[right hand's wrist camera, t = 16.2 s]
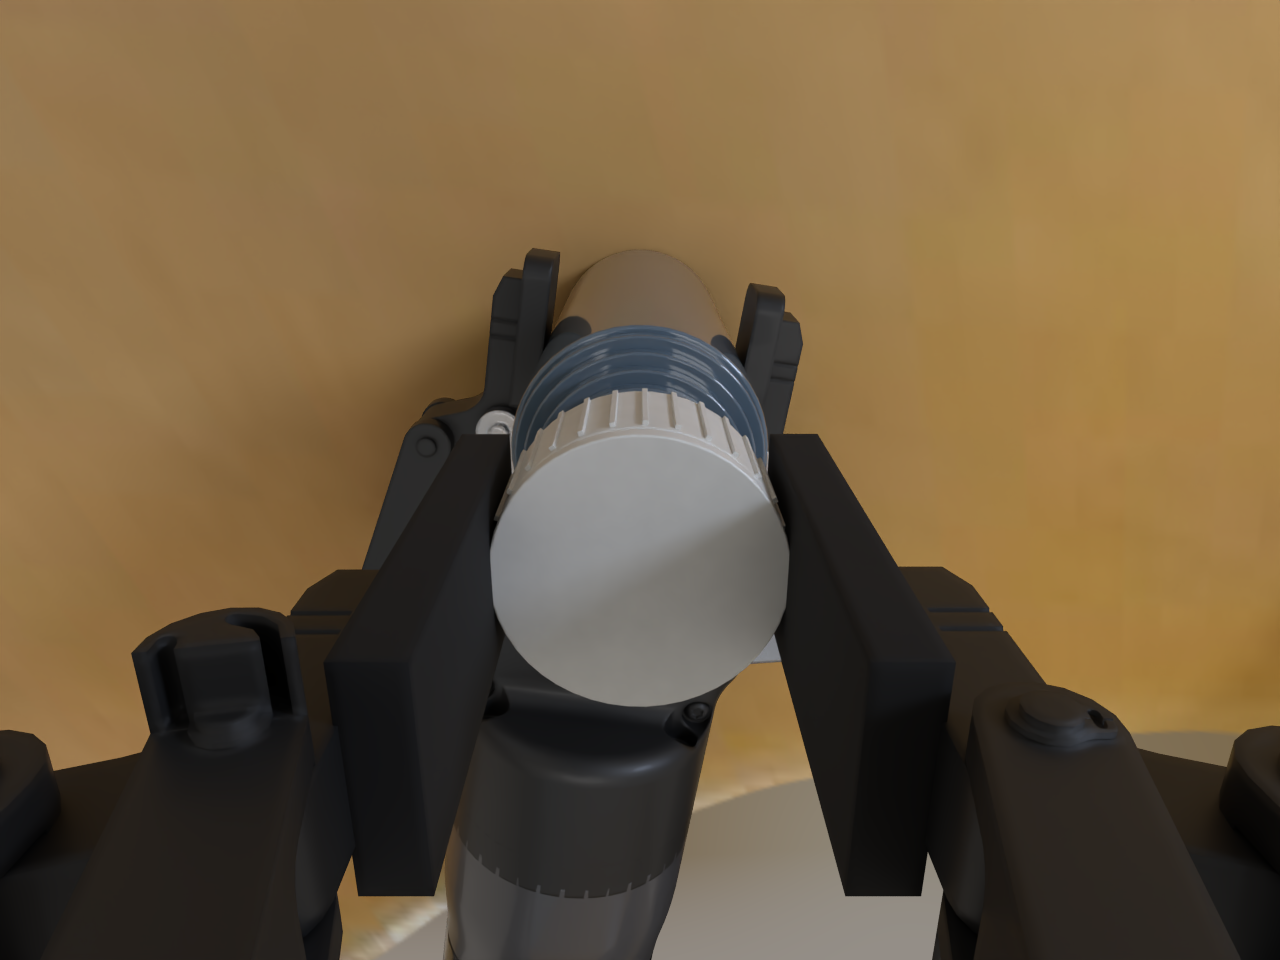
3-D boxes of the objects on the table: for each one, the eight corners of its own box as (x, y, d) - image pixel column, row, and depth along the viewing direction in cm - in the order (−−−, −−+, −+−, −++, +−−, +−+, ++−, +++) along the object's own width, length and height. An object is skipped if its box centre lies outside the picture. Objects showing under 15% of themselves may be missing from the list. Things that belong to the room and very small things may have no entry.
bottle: (685, 422, 30) (737, 746, 14) (543, 374, 29) (426, 656, 13) (739, 280, 28) (871, 461, 12) (590, 227, 27) (521, 343, 11)
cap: (754, 363, 13) (776, 404, 11) (787, 610, 15) (811, 687, 13) (478, 411, 14) (448, 460, 12) (538, 648, 15) (521, 730, 13)
